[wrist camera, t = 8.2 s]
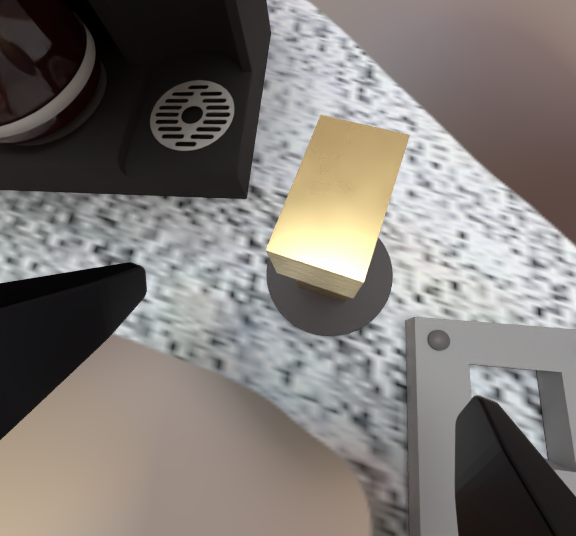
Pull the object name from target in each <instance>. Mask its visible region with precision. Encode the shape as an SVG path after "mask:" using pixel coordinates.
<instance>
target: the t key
mask: <svg viewBox="0 0 576 536" xmlns="http://www.w3.org/2000/svg"><path fill="white" fill-rule="evenodd" d="M409 136H410V135H408V134H403V133H399V132H394V131H390V130H385V129H381V128H377V127H372V126H368V125H363V124H359V123H354V122H350V121H345V120H341V119H336V118H332V117H328V116H323V115H321V116H320V118H319V121H318V123H317V126H316V128H315V130H314V133H313V135H312V138H311V140H310V143H309V145H308V148H307V150H306V153H305V155H304V158H303V160H302V162H301V165H300V167H299V170H298V172H297V175H296V177H295V180H294V182H293V185H292V187H291V189H290V192H289V194H288V197H287V199H286V202H285V204H284V207H283V209H282V212H281V214H280V216H279V219H278V221H277V224H276V226H275V229H274V231H273V234H272V236H271V239H270V241H269V244H268V246H267V248H266V252H267V254H268V256H269V258H270V260H271V262H272V264H273V266H274V268H275V270H276V272H277V273H279V274H282V275H285V276H288V277H291V278H294V279H296V283H297V286H298V287H301V288H304V289H307V290H310V291H313V292H315V293H318V294H321V295H324V296H327V297H330V298H333V299H336V300H339V301H342V302H345V301H346V299H347V297H350V298H354V296H355V295H356V293H357V292H358V290H359V289H360V287H361V286H362V284H363V283H364V281H365V277H366V274H367V271H368V268H369V264H370V261H371V258H372V255H373V252H374V248H375V245H376V242H377V239H378V236H379V232H380V229H381V226H382V223H383V219H384V216H385V213H386V210H387V207H388V203H389V200H390V197H391V194H392V191H393V187H394V184H395V181H396V178H397V174H398V171H399V168H400V165H401V162H402V158H403V155H404V152H405V149H406V146H407V142H408V139H409Z"/></svg>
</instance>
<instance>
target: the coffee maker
mask: <svg viewBox="0 0 576 536" xmlns="http://www.w3.org/2000/svg"><path fill="white" fill-rule="evenodd" d="M270 35H271V31H270V23H269V16H268V9H267V2H266V0H0V190H25V191H52V192H79V193H106V194H133V195H160V196H187V197H214V198H241V199H246V198H247V192H248V185H249V178H250V171H251V164H252V158H253V151H254V144H255V137H256V130H257V124H258V117H259V110H260V103H261V96H262V90H263V83H264V76H265V69H266V62H267V56H268V49H269V42H270Z"/></svg>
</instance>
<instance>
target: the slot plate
mask: <svg viewBox="0 0 576 536" xmlns="http://www.w3.org/2000/svg"><path fill="white" fill-rule="evenodd" d="M469 364H474V365H485V366H495V367H506V368H517V369H528V370H537V377H538V385H539V392H540V400H541V408H542V415H543V423H544V430H545V438H546V445H547V453H548V459H545V460H546V461H547V463H548V464H549V465H550V466H551V467H552V469H553V470H554V471H555V472H556V473H557V475H558V476H559V477H560V478H561V479H562V480H563V482H564V483H565V484H566V485H567V486H568V488H569V489H570V490H571V491H572V492H573V494H574V495H575V496H576V330H575V329H562V328H549V327H536V326H523V325H510V324H498V323H485V322H472V321H459V320H446V319H433V318H421V317H414V318H411V319H408V320H406V368H407V424H408V480H409V536H458V527H457V516H456V506H455V484H454V478H455V423H456V419H457V416H458V415H459V413H460V412H461V411H462V410H463V408H464V407H465V406H466V405H467V404H468V402H469V401H470V400H471V386H470V372H469Z"/></svg>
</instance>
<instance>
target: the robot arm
mask: <svg viewBox="0 0 576 536" xmlns="http://www.w3.org/2000/svg"><path fill="white" fill-rule="evenodd" d="M146 292H147V286H146V272H145V269H144V268H143V267H142V266H140V265H137V264H134V263H130V262H129V263H122V264H116V265H110V266H104V267H98V268H92V269H86V270H79V271H73V272H67V273H61V274H55V275H49V276H43V277H37V278H31V279H24V280H18V281H12V282H6V283H0V440H1V439H2V438H3V437H4V436H5V435H6V434H7V433H8V432H9V431H10V430H11V429H13V428H14V427H15V426H16V425H17V424H18V423H19V422H20V421H21V420H22V419H23V418H24V417H25V416H26V415H27V414H29V413H30V412H31V411H32V410H33V409H34V408H35V407H36V406H37V405H38V404H39V403H40V402H41V401H42V400H43V399H44V398H46V397H47V396H48V395H49V394H50V393H51V392H52V391H53V390H54V389H55V388H56V387H57V386H58V385H59V384H60V383H61V382H62V381H64V380H65V379H66V378H67V377H68V376H69V375H70V374H71V373H72V372H73V371H74V370H75V369H76V368H77V367H78V366H79V365H80V364H81V363H82V362H84V361H85V360H86V359H87V358H88V357H89V356H90V355H91V354H92V353H93V352H94V351H95V350H97V349H98V348H99V347H100V346H101V345H102V344H103V343H104V342H105V341H106V340H107V339H108V338H109V337H110V336H111V335H112V334H113V332H114V331H115V330H116V329H117V328H118V327H119V326H120V325H121V323H122V322H123V321H124V320H125V319H126V318H127V317H128V315H129V314H130V313H131V312H132V311H133V310H134V309H135V308H136V306H137V305H138V304H139V303H140V302H141V301H142V300H143V298H144V297H145V295H146ZM454 484H455V506H456V516H457V527H458V536H576V496H575V495H574V494H573V492H572V491H571V490H570V489H569V488H568V486H567V485H566V484H565V483H564V482H563V480H562V479H561V478H560V477H559V476H558V475H557V473H556V472H555V471H554V470H553V469H552V467H551V466H550V465H549V464H548V463H547V461H546V460H545V459H544V458H543V457H542V455H541V454H540V453H539V452H538V451H537V449H536V448H535V447H534V446H533V445H532V443H531V442H530V441H529V440H528V439H527V438H526V436H525V435H524V434H523V433H522V432H521V430H520V429H519V428H518V427H517V426H516V424H515V423H514V422H513V421H512V420H511V418H510V417H509V416H508V415H507V414H506V412H505V411H504V410H503V409H502V408H501V406H500V405H499V404H498V403H496V402H495V401H492V400H490V399H487V398H485V397H482V396H474V397H473V398H472V399H471V400H470V401H469V402H468V404H467V405H466V406H465V407H464V408H463V410H462V411H461V412H460V413H459V415H458V416H457V419H456V423H455V478H454Z"/></svg>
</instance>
